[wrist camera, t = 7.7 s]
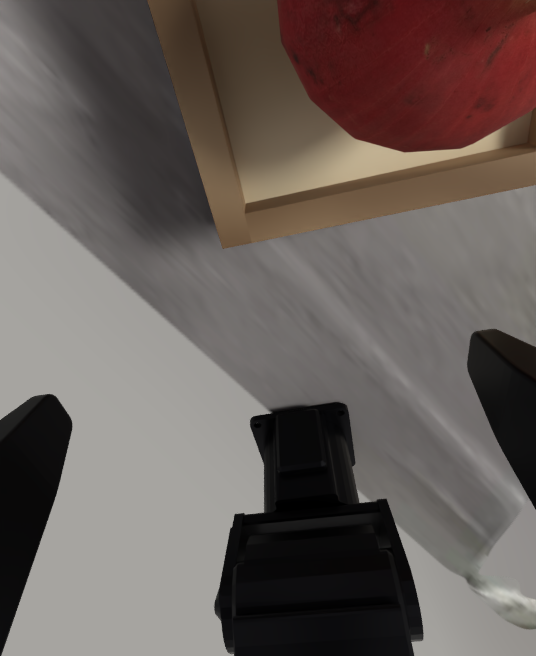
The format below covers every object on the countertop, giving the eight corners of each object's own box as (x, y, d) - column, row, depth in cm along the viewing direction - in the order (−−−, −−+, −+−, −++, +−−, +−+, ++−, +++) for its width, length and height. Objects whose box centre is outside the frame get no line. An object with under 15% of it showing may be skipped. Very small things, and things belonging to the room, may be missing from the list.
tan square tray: (509, 159, 17) (600, 202, 12) (218, 221, 18) (202, 280, 14) (591, -410, 9) (902, -839, 5) (84, -225, 11) (-44, -418, 6)
